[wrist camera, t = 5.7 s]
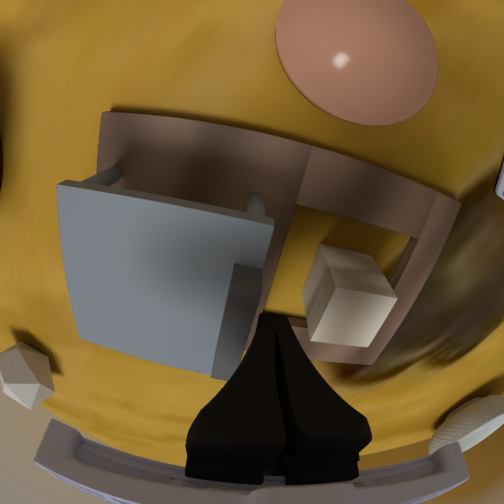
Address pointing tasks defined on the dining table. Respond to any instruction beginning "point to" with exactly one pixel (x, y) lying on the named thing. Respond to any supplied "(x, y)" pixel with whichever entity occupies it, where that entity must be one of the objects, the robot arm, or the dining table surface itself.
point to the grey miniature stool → (162, 272)
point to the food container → (0, 165)
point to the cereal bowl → (470, 423)
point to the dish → (358, 57)
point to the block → (345, 297)
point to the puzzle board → (282, 197)
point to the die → (26, 375)
